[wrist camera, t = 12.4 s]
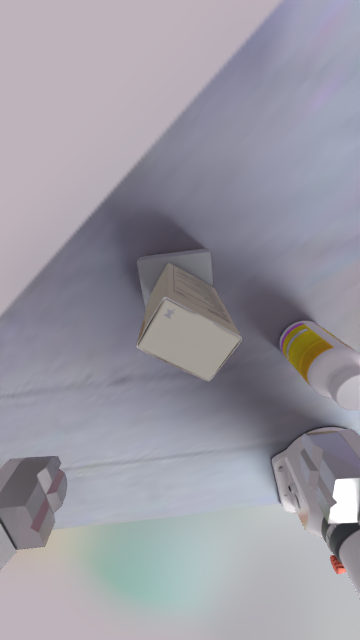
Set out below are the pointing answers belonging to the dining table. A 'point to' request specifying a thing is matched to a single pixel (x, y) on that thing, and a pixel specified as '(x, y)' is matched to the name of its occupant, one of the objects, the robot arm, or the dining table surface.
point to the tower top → (185, 260)
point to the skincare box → (187, 325)
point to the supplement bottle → (324, 362)
